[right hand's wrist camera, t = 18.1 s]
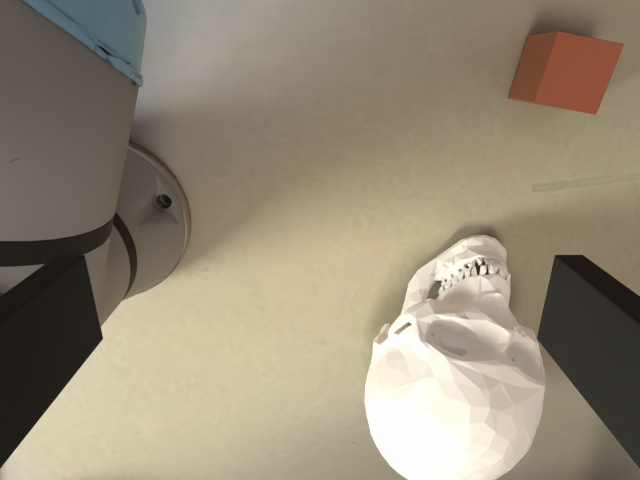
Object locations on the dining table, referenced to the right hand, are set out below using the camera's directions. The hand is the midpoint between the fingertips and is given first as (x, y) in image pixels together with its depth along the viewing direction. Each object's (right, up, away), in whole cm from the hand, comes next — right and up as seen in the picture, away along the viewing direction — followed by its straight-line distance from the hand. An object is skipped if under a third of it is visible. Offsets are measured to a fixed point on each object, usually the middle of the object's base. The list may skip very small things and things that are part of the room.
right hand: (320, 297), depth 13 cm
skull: (+12, -7, +34) cm, 36 cm away
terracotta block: (+19, +16, +25) cm, 35 cm away
